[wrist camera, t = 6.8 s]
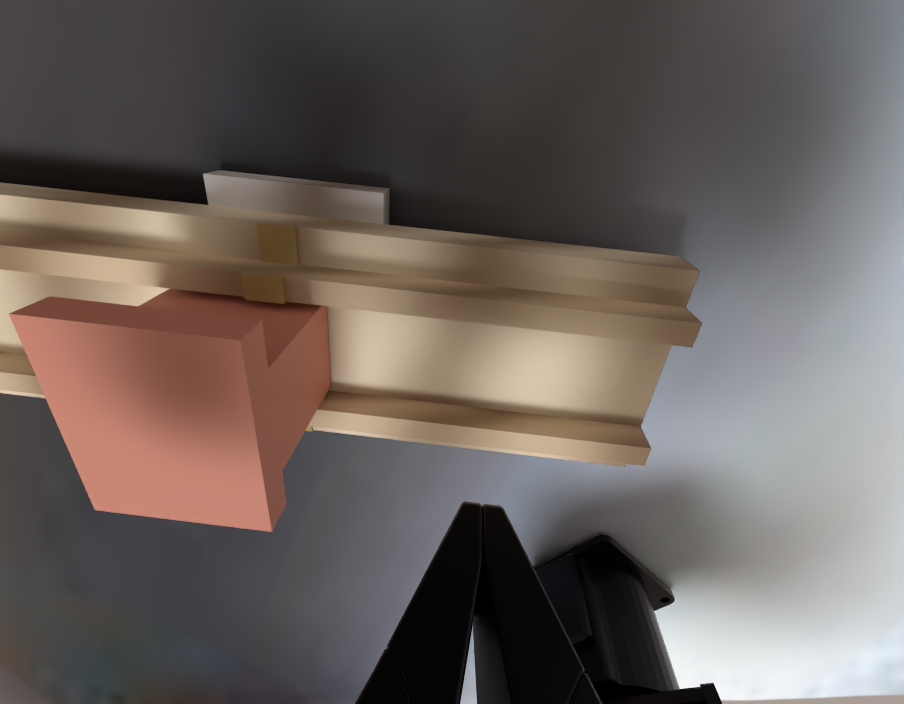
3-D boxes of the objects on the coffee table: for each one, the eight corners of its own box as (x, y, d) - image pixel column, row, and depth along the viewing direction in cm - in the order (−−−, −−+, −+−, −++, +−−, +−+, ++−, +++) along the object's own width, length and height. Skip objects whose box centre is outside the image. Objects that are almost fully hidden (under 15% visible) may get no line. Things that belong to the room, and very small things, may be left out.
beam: (679, 219, 15) (735, 251, 12) (604, 444, 20) (627, 513, 16) (-59, 140, 16) (-213, 149, 12) (43, 378, 20) (-46, 431, 17)
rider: (324, 262, 14) (240, 340, 9) (332, 413, 17) (271, 531, 12) (169, 245, 14) (8, 313, 9) (204, 398, 17) (95, 509, 12)
